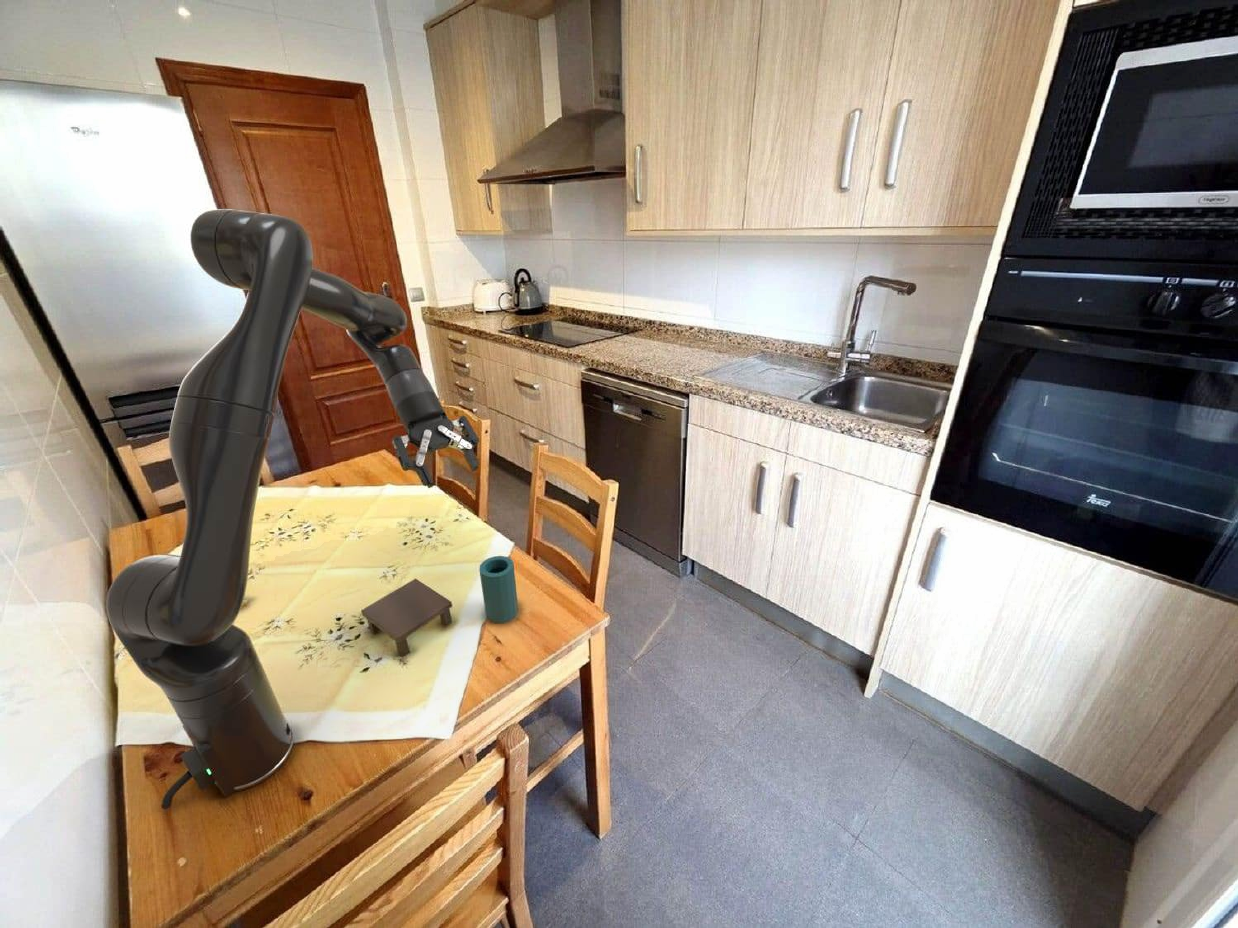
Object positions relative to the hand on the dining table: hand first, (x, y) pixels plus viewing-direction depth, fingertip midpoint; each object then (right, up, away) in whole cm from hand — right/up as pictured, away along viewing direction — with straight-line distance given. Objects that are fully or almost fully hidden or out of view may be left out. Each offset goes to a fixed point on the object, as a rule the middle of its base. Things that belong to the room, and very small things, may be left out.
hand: (454, 477), depth 91 cm
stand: (-8, -27, +2) cm, 29 cm away
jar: (+8, -26, +5) cm, 27 cm away
